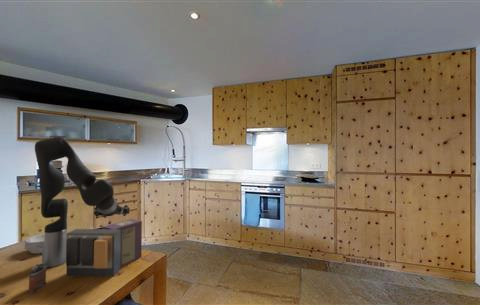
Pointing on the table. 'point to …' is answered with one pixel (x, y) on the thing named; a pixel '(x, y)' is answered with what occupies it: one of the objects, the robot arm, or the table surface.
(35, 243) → the paper bowls
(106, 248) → the panel
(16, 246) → the table surface
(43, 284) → the lighter
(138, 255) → the box
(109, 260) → the box
